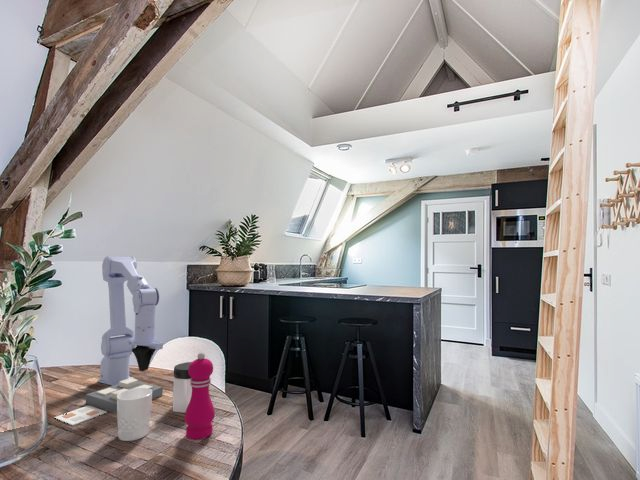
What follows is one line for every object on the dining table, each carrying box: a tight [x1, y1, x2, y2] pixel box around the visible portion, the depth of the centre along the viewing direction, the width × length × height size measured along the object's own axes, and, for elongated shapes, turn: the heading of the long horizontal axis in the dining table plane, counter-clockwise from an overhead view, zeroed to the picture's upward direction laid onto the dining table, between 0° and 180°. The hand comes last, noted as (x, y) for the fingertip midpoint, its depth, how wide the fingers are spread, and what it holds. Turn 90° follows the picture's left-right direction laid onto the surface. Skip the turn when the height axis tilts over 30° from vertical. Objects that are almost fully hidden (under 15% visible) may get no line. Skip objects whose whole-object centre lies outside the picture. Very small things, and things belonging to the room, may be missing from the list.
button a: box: [97, 387, 118, 396], centre depth 110 cm, size 4×4×2 cm
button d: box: [133, 384, 153, 389], centre depth 113 cm, size 4×4×2 cm
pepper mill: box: [184, 352, 216, 440], centre depth 90 cm, size 7×7×20 cm
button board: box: [85, 380, 164, 414], centre depth 111 cm, size 15×15×3 cm
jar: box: [172, 361, 193, 414], centre depth 106 cm, size 9×8×12 cm
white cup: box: [116, 388, 153, 442], centre depth 89 cm, size 8×8×10 cm
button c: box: [111, 389, 128, 400], centre depth 106 cm, size 4×4×2 cm
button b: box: [119, 377, 139, 389], centre depth 116 cm, size 4×4×2 cm
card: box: [53, 404, 108, 426], centre depth 99 cm, size 9×9×1 cm
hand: (143, 370), depth 113 cm, fingers closed
